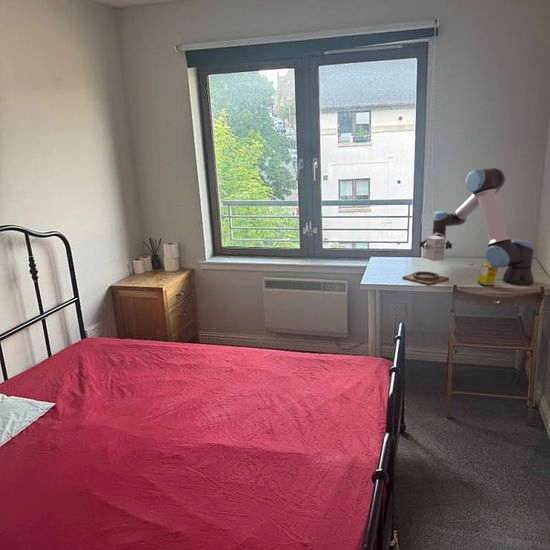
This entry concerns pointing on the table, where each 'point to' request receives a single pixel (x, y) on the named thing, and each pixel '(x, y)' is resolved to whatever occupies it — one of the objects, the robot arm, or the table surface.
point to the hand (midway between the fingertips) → (434, 248)
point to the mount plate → (427, 282)
